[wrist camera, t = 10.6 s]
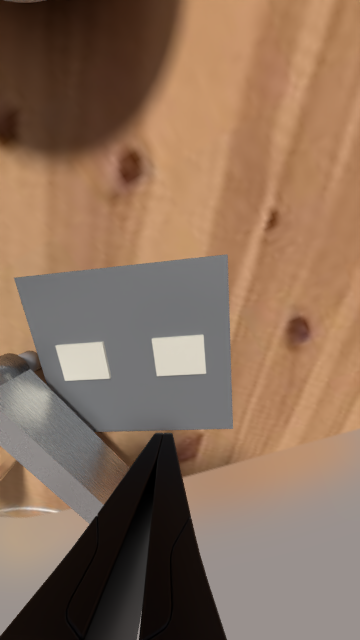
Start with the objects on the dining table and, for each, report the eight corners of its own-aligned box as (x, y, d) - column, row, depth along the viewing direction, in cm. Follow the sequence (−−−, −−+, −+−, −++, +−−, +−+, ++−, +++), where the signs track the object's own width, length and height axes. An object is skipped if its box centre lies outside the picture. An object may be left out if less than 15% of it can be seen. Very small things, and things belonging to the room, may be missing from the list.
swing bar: (-10, 366, 17) (-67, 390, 14) (11, 346, 17) (-43, 366, 13) (129, 498, 21) (114, 548, 17) (151, 486, 20) (141, 536, 16)
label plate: (44, 426, 21) (31, 438, 20) (-5, 281, 17) (-25, 281, 16) (230, 421, 19) (234, 434, 18) (225, 256, 15) (229, 253, 14)
